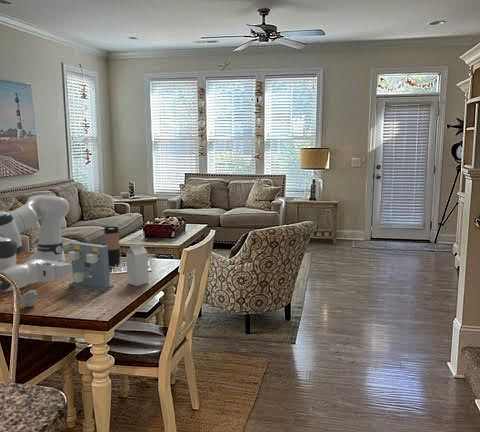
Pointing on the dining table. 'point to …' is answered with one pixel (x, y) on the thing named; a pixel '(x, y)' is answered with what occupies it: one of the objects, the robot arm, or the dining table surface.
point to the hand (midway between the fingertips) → (63, 262)
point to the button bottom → (80, 276)
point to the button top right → (92, 258)
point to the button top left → (74, 255)
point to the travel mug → (112, 244)
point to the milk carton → (137, 265)
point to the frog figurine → (29, 298)
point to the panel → (92, 267)
